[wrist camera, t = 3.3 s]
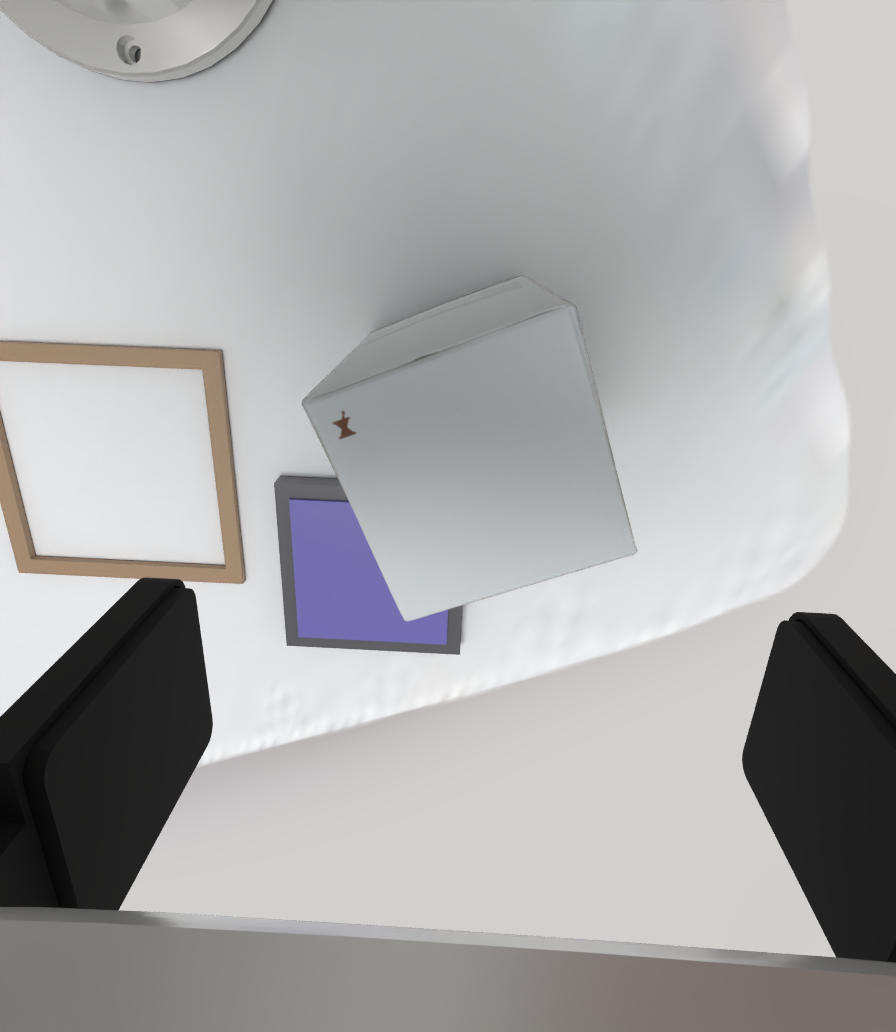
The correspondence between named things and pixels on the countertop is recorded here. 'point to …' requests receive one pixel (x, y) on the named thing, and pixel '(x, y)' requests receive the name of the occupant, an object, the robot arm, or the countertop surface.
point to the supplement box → (475, 448)
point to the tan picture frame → (6, 491)
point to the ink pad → (343, 579)
